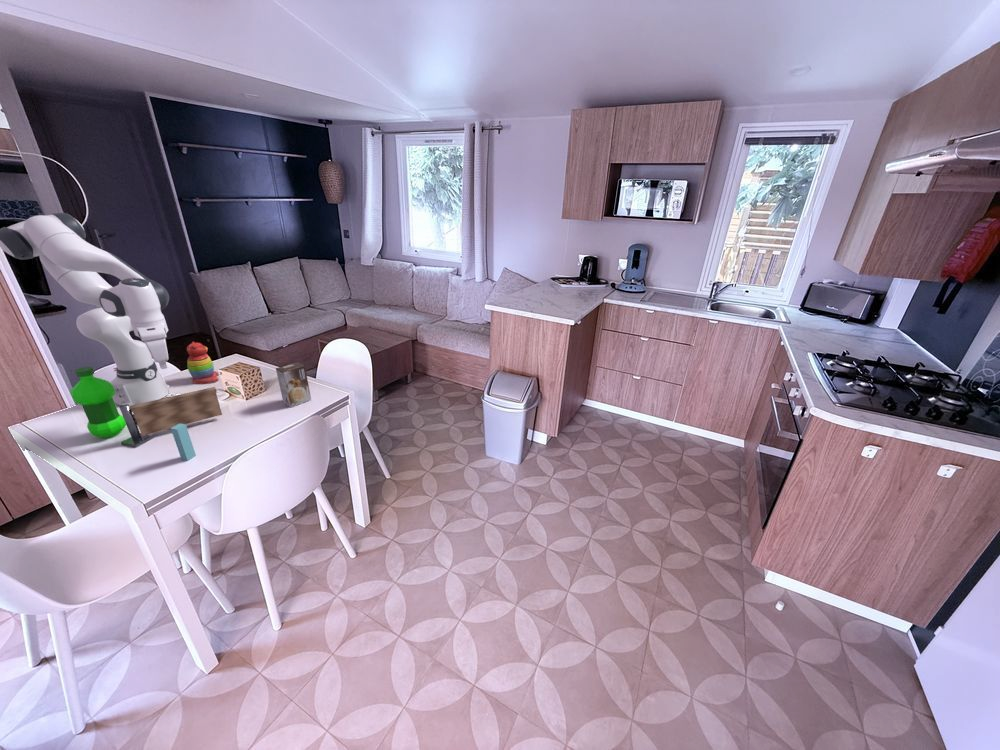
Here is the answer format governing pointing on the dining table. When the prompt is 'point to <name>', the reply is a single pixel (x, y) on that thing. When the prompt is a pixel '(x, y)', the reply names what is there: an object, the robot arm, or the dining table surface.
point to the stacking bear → (200, 364)
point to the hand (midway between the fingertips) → (163, 365)
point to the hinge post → (132, 429)
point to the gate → (176, 410)
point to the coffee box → (293, 384)
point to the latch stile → (183, 441)
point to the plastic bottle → (97, 404)
